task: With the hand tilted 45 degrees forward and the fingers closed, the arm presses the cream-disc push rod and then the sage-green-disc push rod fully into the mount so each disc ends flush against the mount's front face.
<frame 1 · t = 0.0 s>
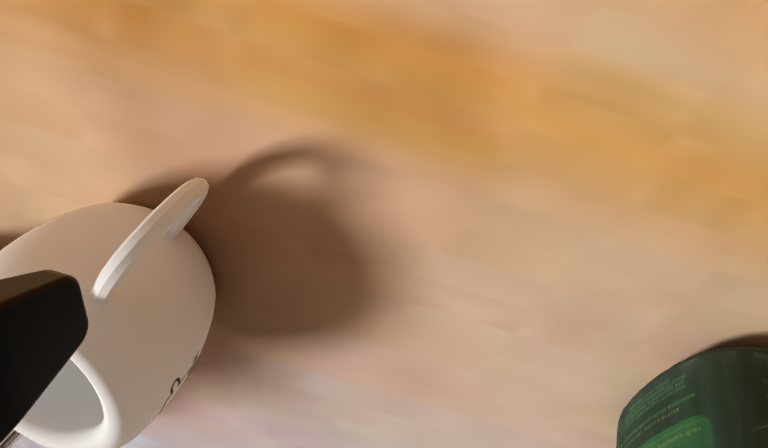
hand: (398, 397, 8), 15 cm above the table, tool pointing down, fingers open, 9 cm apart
mug: (174, 234, 30), on the table
coffee jar: (762, 433, 26), on the table
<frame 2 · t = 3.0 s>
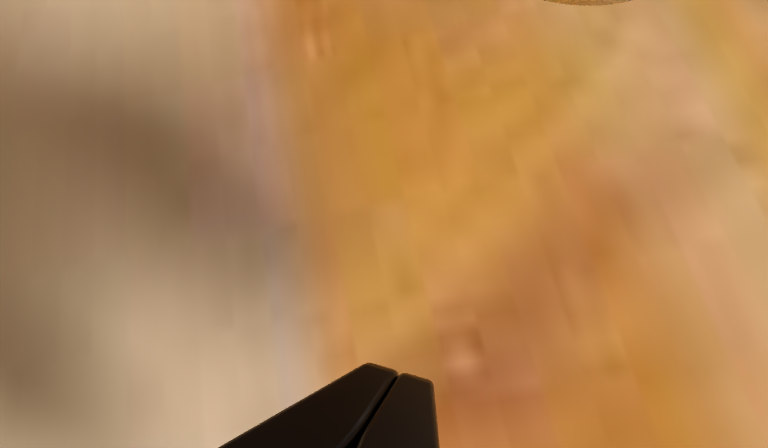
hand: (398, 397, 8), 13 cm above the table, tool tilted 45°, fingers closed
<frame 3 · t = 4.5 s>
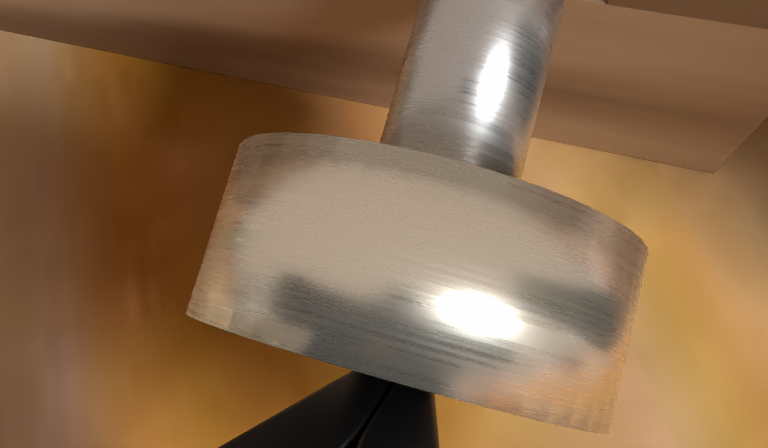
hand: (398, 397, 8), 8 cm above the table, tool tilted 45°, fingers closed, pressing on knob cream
knob cream: (473, 72, 9), point 8 cm above the table, slide at 0.4 cm, touching gripper
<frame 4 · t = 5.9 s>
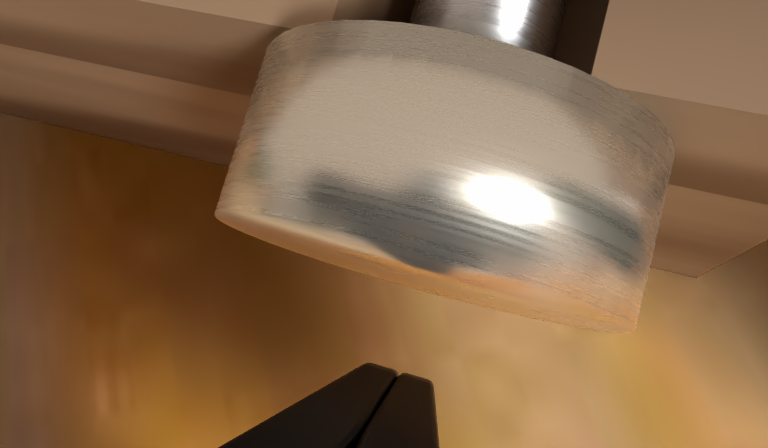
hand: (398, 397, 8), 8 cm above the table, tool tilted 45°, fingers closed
mount: (270, 78, 18), on the table
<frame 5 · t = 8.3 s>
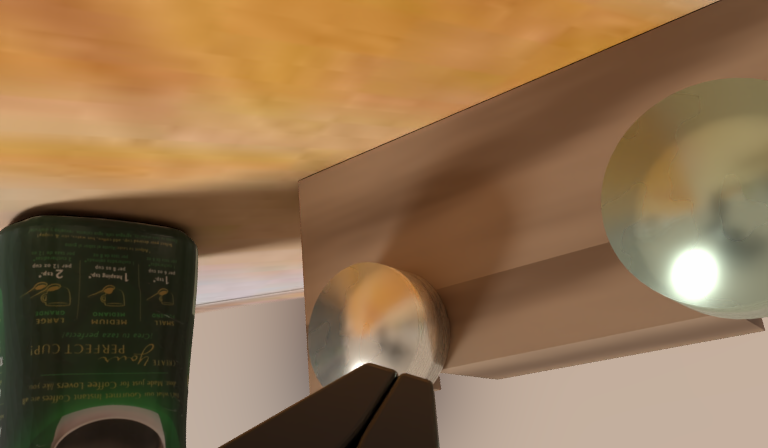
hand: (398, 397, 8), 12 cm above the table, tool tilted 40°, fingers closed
mount: (545, 111, 28), on the table
knob cream: (420, 342, 28), point 8 cm above the table, slide at 4.0 cm
coffee jar: (99, 234, 37), on the table
knob sage: (753, 229, 18), point 8 cm above the table, slide at 0.0 cm
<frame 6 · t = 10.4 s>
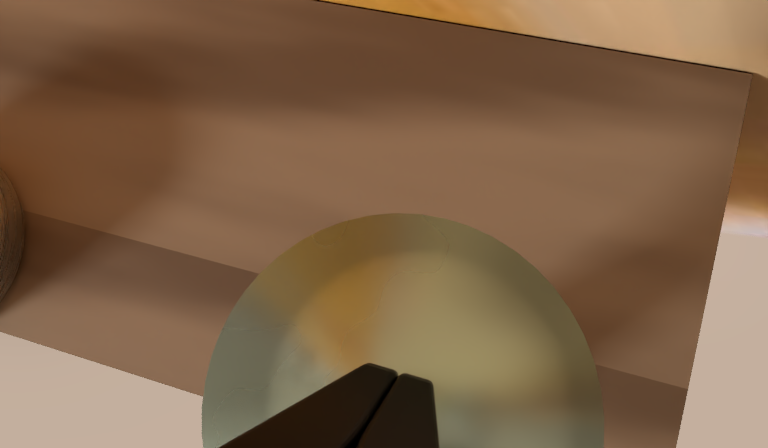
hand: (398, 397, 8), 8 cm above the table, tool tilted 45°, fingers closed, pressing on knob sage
mount: (300, 39, 20), on the table
knob sage: (431, 399, 12), point 8 cm above the table, slide at 0.1 cm, touching gripper
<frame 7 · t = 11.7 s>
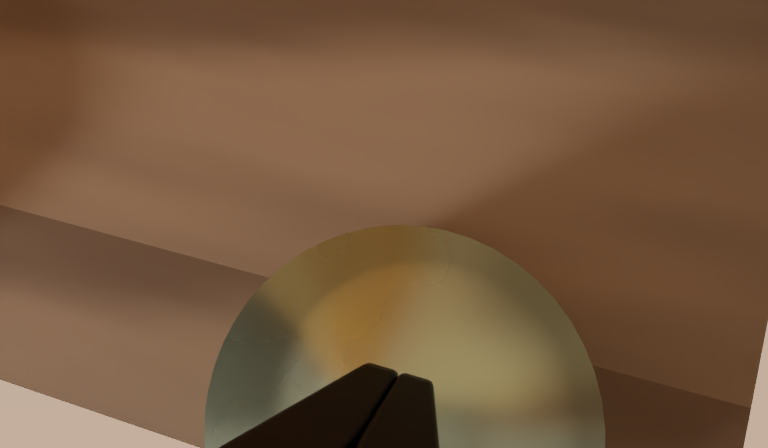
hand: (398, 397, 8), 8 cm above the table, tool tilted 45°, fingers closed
knob sage: (432, 408, 12), point 8 cm above the table, slide at 4.0 cm
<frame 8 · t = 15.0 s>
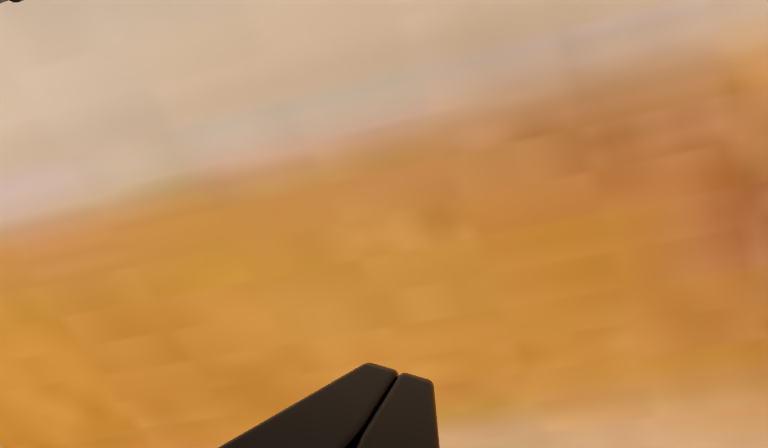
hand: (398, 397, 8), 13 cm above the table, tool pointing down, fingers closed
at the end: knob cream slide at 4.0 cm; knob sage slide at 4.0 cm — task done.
